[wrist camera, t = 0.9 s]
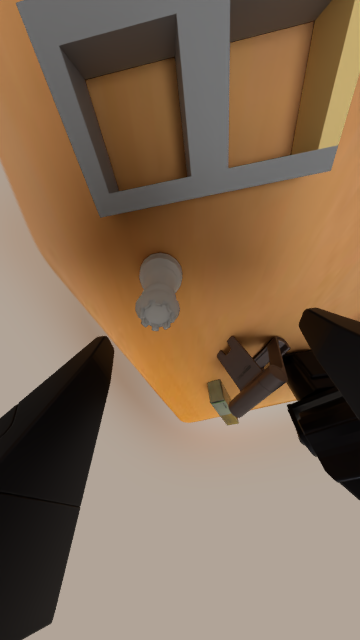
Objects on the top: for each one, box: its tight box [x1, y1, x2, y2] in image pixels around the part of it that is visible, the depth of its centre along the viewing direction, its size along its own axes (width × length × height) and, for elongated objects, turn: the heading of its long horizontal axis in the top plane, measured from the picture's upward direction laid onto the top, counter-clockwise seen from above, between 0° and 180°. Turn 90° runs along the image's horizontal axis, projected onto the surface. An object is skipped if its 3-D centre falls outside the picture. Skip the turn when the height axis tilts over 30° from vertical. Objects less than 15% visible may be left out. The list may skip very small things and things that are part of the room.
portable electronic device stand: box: [217, 336, 290, 418], centre depth 23 cm, size 9×8×8 cm
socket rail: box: [16, 0, 360, 218], centre depth 10 cm, size 8×16×3 cm, turn 99°
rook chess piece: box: [135, 253, 183, 331], centre depth 15 cm, size 4×4×8 cm
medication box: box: [208, 379, 239, 425], centre depth 33 cm, size 12×3×4 cm, turn 25°
